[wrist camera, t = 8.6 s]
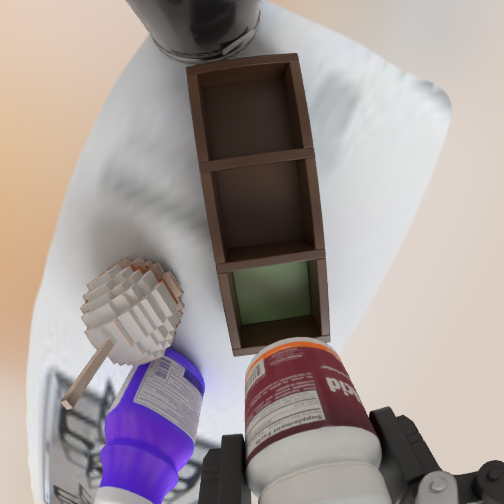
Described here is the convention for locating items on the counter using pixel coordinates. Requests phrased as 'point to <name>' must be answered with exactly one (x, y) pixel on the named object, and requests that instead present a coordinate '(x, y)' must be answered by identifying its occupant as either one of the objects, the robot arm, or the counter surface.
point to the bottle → (150, 431)
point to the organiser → (261, 198)
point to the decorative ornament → (128, 317)
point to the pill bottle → (308, 429)
